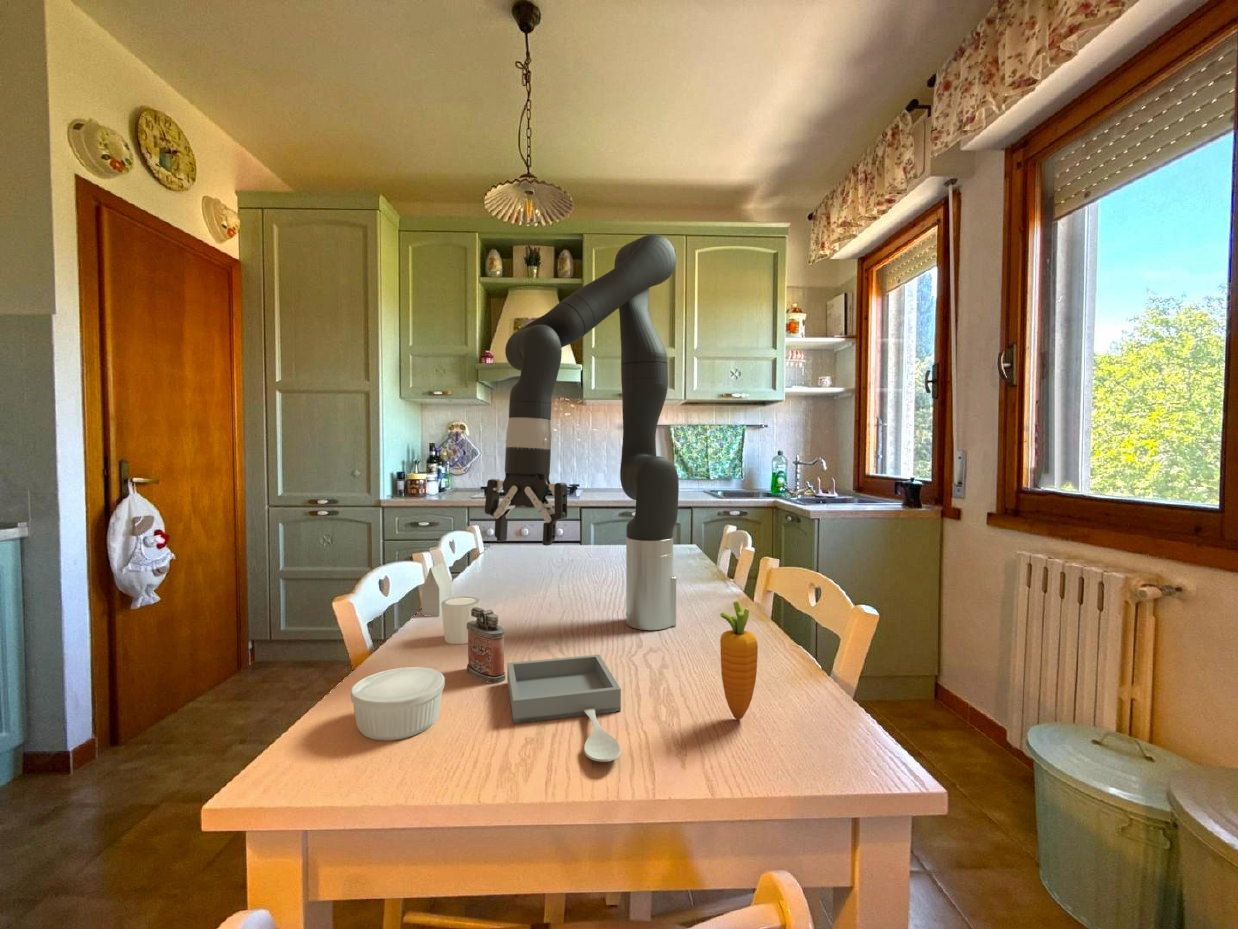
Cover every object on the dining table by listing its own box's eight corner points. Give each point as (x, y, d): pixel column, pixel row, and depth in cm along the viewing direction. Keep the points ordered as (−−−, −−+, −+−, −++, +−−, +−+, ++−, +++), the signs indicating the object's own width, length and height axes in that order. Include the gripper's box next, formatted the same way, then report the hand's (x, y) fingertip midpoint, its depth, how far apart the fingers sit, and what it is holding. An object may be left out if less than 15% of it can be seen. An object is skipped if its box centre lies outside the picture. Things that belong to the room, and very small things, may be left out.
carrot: (750, 733, 70) (751, 611, 69) (712, 723, 72) (713, 605, 72) (763, 717, 74) (764, 602, 73) (726, 708, 76) (727, 597, 76)
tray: (599, 673, 88) (599, 654, 88) (620, 711, 75) (620, 689, 75) (507, 683, 84) (507, 663, 84) (513, 724, 72) (513, 700, 72)
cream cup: (485, 633, 107) (485, 596, 107) (472, 646, 100) (472, 606, 100) (450, 632, 108) (450, 595, 108) (435, 644, 101) (434, 605, 101)
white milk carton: (451, 607, 125) (451, 562, 124) (439, 616, 118) (439, 568, 118) (435, 607, 125) (435, 561, 125) (422, 616, 118) (421, 568, 118)
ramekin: (376, 703, 78) (375, 665, 78) (456, 704, 78) (456, 666, 78) (332, 746, 67) (331, 701, 67) (426, 747, 66) (426, 703, 66)
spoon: (589, 777, 60) (588, 762, 60) (567, 694, 81) (566, 682, 81) (627, 771, 61) (626, 756, 61) (596, 690, 81) (595, 679, 81)
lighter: (510, 678, 86) (510, 613, 86) (491, 685, 84) (491, 618, 83) (480, 664, 92) (480, 603, 91) (461, 670, 89) (461, 607, 89)
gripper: (576, 448, 97) (571, 544, 97) (502, 446, 102) (498, 537, 101) (558, 446, 90) (553, 549, 90) (479, 443, 94) (474, 541, 94)
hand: (524, 542), depth 96 cm, fingers open, 8 cm apart
